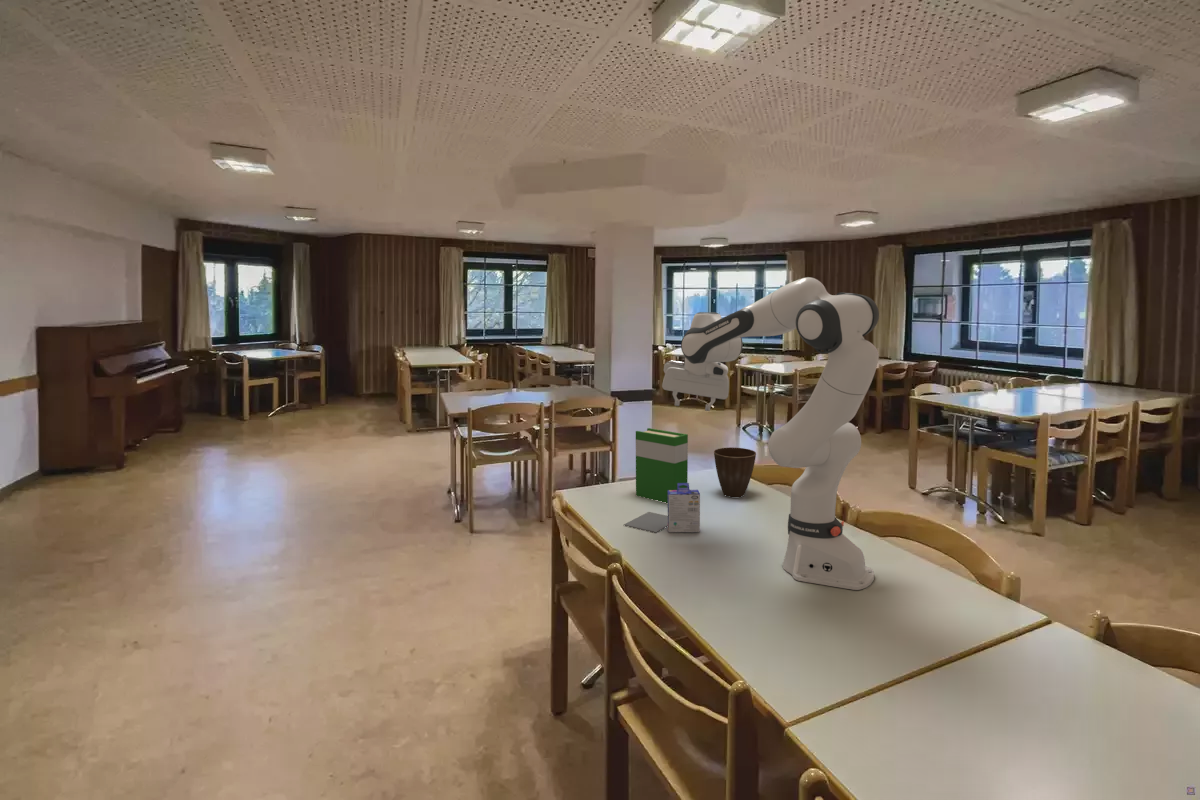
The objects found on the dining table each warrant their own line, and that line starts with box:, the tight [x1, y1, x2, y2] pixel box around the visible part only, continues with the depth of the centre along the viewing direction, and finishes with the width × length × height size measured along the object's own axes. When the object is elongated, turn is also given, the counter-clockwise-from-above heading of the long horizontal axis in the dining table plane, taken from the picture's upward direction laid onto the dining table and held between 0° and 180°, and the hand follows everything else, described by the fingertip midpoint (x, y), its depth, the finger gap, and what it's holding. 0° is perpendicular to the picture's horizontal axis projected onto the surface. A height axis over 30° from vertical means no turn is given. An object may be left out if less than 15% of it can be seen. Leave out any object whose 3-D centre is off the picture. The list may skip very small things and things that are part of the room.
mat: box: [623, 511, 668, 534], centre depth 205 cm, size 12×15×1 cm
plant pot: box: [713, 446, 757, 498], centre depth 232 cm, size 15×15×16 cm
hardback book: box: [635, 427, 689, 504], centre depth 229 cm, size 18×7×24 cm, turn 46°
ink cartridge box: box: [667, 482, 701, 533], centre depth 197 cm, size 10×6×14 cm, turn 89°
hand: (692, 407), depth 197 cm, fingers open, 8 cm apart
